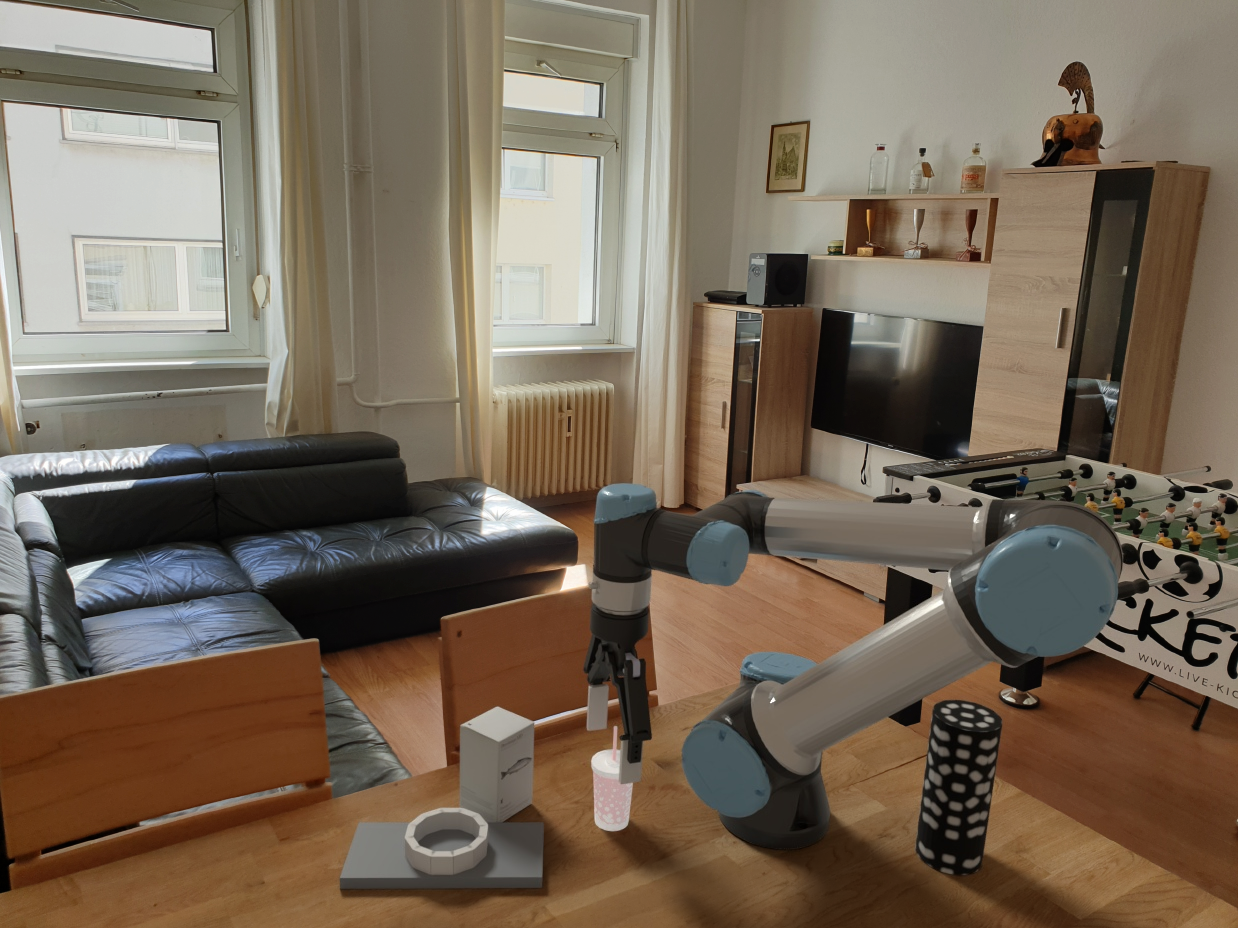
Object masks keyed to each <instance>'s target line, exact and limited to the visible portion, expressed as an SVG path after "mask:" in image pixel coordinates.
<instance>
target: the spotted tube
mask: <svg viewBox="0 0 1238 928" xmlns="http://www.w3.org/2000/svg"><path fill="white" fill-rule="evenodd" d="M1003 723H1004V721H1003V719H1002V717H1001V715H999V714H998V713H997V712H996V711H995V710H993V709H992V708H989V707H987V706H985V705H983V704H980V703H977V702H973V701H970V700H963V699H946V700H941V701H938V702H937V703H935V704H934V705H933V707H932V712H931V719H930V729H929V735H928V743H927V751H926V752H927V753H926V757H925V759H926V760H925V768H924V773H923V774H924V775H923V784H922V793H921V799H920V805H919V806H920V807H919V815H918V823H917V832H916V839H915V847H914V849H915V852H916V854H917V856H918V858H919V859H920V860H921V861H922V862H924V863H925V864H926V865H927V866H929V867H930V868H932V869H934V870H937V871H939V872H941V873H944V874H948V875H955V876H969V875H973V874H975V873H976V872H979V870H981V868H982V867H983V861H984V854H985V847H986V838H987V833H988V826H989V820H990V819H989V818H990V811H991V805H992V798H993V791H994V785H995V777H996V771H997V765H998V764H997V763H998V759H999V757H998V756H999V750H1000V744H1001V743H1000V742H1001V738H1002V729H1003Z"/></svg>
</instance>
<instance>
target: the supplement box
mask: <svg viewBox="0 0 1238 928" xmlns="http://www.w3.org/2000/svg"><path fill="white" fill-rule="evenodd" d="M534 744H535V721H533V720H531V719H529V718H526V717H523V716H521V715H518V714H516V713H514V712H512V711H509V710H506V709H504V708H502V707H500V706H495V707H493V708H491V709H489V710H488V711H485V712H483V713H482V714H480V715H477V716H476V717H473V718H471V719H470V720H468V721H465V722H464V723H462V724H460V725H459V808H464V809H467V810H470V811H473V812H475V813H478V814H480V815H481V817H482V818H483V819H484V820H485V821H486V822H505V821H506V820H508V819H510V818H511V817H512V816H514V815H516V814H517V813H519V812H520V811H522V810H523V809H525V808H527V807H529V806H530V805H532V804H533V789H534V788H533V787H534V785H533V784H534V753H535V752H534V749H535V746H534Z"/></svg>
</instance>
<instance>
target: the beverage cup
mask: <svg viewBox="0 0 1238 928" xmlns="http://www.w3.org/2000/svg"><path fill="white" fill-rule="evenodd" d="M612 740H613V741H612V742H613V743H612V748H611V749H604V750H601V751H598V752H596V753H595V754H593V755H592V758H591V760H590V763H591V764H590V765H591V766H590V767H591V770H592V773H593V774H592V775H593V777H592V778H593V780H592V781H593V806H594V809H593V810H594V823H595V825H596V826H597V827H598V828H599V829H602V830H604V831H609V832H617V831H622V830H623V829H625V828H626V827H627V826H628V825H629V821H630V811H631V803H632V795H633V786H634V783H628V784H620V782H619V768H620V750H621V749H618V748H617V747H618V746H617V743H618V726H617V725H614V726H613V739H612Z"/></svg>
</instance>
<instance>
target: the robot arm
mask: <svg viewBox="0 0 1238 928" xmlns="http://www.w3.org/2000/svg"><path fill="white" fill-rule="evenodd" d="M595 503H596V504H595V511H594V519H593V524H594V525H593V526H594V527H593V528H594V529H593V531H594V532H593V535H594V539H593V565H592V581H589V583H588V589H590V590H591V601H592V604H591V606H590V615H589V617H590V618H589V630H590V633H591V638H590V641H589V645H588V649H587V652H586V655H585V660H584V663H583V666H582V667H583V669H582V670H583V674H587V676H586V681H587V683H588V691H587V693H588V694H587V710H586V712H587V713H586V730H587V731H588V732H591V731H598V730H605V729H607V727H608V709H609V708H608V707H609V684H608V682H611V684H612V686H614V687H615V688H616V691H617V692H616V694H617V699H618V704H619V710H620V715H621V722H622V728H623V732H624V733H623V734H621V735H620V736H618V737H619V740H620V749H619V750H620V768H619V782H620V784H628V783H633V784H634V783H640V782H642V770H643V769H642V767H643V753H644V752H643V751H644V750H643V749H644V742H645V741H651V740H652V738H653V733H652V724H651V716H650V707H649V705H650V704H649V698H648V688H647V679H646V677H647V675H646V674H647V672H646V671H647V670H646V669H647V661H646V660H645V658H643V657H641V658H638V656H639V655H638V652H637V649H636V644H637V643H638V642H639V641H641V640H643V639H644V638H645V637H647V635H648V633H649V621H650V619H649V618H650V608H649V605H650V602H651V596H652V595H651V594H652V578H653V577H652V576H653V574H652V571H658V572H660V573H661V572H662V573H665V574H669V575H672V576H677V577H680V578H684V579H688V580H692V581H695V582H698V583H699V584H704V585H714V586H719V587H720V586H721V587H730V586H733V585H735V584H736V583H737V582H738V581H739V580H740V578H741V575H742V574H743V573H744V572H745V569H746V567H747V564H748V560H749V554H750V555H759V556H760V555H761V556H775V557H776V556H778V557H788V558H798V559H799V558H800V559H812V560H823V561H832V562H833V561H834V562H835V561H836V562H846V563H857V564H858V563H859V564H872V565H881V566H892V567H904V568H905V567H906V568H917V569H929V570H938V571H948V573H947V578H946V583H945V587H944V589H943V590H941V591H939V592H938V593H936V594H934V595H933V596H931V597H930V598H928V599H926V600H924V601H922V602H920V603H919V604H918V605H916V606H914V607H912V608H910V609H908V610H907V611H905V612H903V613H902V614H900V615H898V616H897V617H895V618H893V619H892V620H891V621H888V622H886V623H885V624H884V625H882V626H880V627H879V628H876V629H875V630H873V631H872V632H869V634H866V635H865V636H863V637H861V638H860V639H858V640H856V641H855V642H853V643H851V644H850V645H848V646H846V647H844V648H842V649H841V650H840V651H838V652H836V653H834V654H833V655H831V656H829V657H827V658H826V659H824V660H823V661H821V662H819V663H817V662H815V661H814V660H812V659H809V658H806V657H804V656H799V655H796V654H791V653H787V652H781V651H780V652H778V651H760V652H754V653H749V654H748V655H746V656H745V657H744V658H743V660H742V662H741V666H740V667H741V668H740V669H739V674H740V681H739V685H738V687H737V688H736V689H735V690H734V691H733V692H732V693H731V694H729V695H728V696H727V697H726V698H725V699H724V700H722V702H720V703H719V704H718V705H717V706H716V707H715V708H714V709H713V710H712V711H711V712H710V713H709V714H707V715H706V716H705V717H704V718H703V719H701V720H700V721H698V722H697V723H696V724H694V725H693V726H692V728H691V731H690V732H689V733H688V734H687V736H686V738H685V740H684V742H683V744H682V748H681V766H682V771H683V773H684V776H685V779H686V781H687V783H688V785H689V786H690V789H691V790H692V792H693V793H694V794H695V795H696V796H697V797H698V798H699V800H701V802H703V803H704V804H705V805H706V806H707V807H708V808H710V809H712V810H713V811H717V812H718V813H717V814H718V817H719V819H720V821H721V823H722V824H723V825H724V827H725V828H726V829H727V830H728V831H729V832H731V833H732V834H733V835H734V836H737V838H740V839H741V840H743V841H745V842H747V843H750V844H752V845H755V846H758V847H763V848H767V849H773V850H796V849H802V848H806V847H809V846H811V845H813V844H816V843H817V842H819V841H821V840H822V839H823V838H824V837H825V836H826V834H827V833H828V831H829V825H830V815H831V810H830V809H831V808H830V803H829V800H828V795H827V791H826V787H825V782H824V779H823V774H822V761H823V760H822V759H823V752H825V751H826V750H827V749H830V748H832V747H833V746H836V745H838V744H840V743H841V742H843V741H844V740H847V739H849V738H850V737H853V736H854V735H856V734H858V733H860V732H862V731H864V730H865V729H868V728H869V727H871V726H873V725H875V724H877V723H878V722H881V721H883V720H885V719H886V718H888V717H890V716H892V715H894V714H896V713H898V712H901V711H902V710H904V709H906V708H908V707H910V706H912V705H914V704H915V703H918V702H919V701H921V700H923V699H924V698H925V699H926V698H927V697H928V696H930V695H933V694H934V693H936V692H938V691H940V690H942V689H944V688H946V687H948V686H950V685H951V684H953V683H956V682H957V681H959V680H961V679H963V678H965V677H966V676H968V675H970V674H972V673H974V672H976V671H978V670H980V669H981V668H983V667H986V666H988V665H989V664H991V663H997V664H999V665H1002V666H1004V667H1009V668H1013V669H1014V668H1015V669H1016V668H1018V667H1020V666H1021V665H1023V664H1025V663H1028V662H1029V661H1032V660H1034V659H1035V658H1038V657H1041V658H1042V657H1043V658H1044V657H1046V658H1049V657H1058V656H1062V655H1067V654H1070V653H1073V652H1075V651H1077V650H1079V649H1081V648H1083V647H1085V646H1086V645H1088V644H1089V643H1091V642H1092V641H1093V640H1094V639H1095V638H1096V637H1097V636H1098V635H1099V634H1100V633H1101V631H1102V630H1104V628H1105V626H1106V624H1107V623H1108V622H1109V620H1110V619H1111V618H1112V615H1113V614H1114V611H1115V608H1116V605H1117V601H1118V596H1119V595H1118V594H1119V588H1118V586H1119V583H1120V582H1119V581H1120V578H1121V574H1122V571H1123V565H1124V554H1123V549H1122V548H1123V547H1122V544H1121V541H1120V539H1119V536H1118V535H1117V532H1116V531H1115V529H1114V528H1113V526H1112V525H1111V524H1110V523H1109V522H1108V520H1106V519H1105V518H1104V517H1102V515H1100V514H1099V513H1098V512H1096V511H1094V510H1092V509H1091V508H1088V507H1086V506H1084V505H1083V504H1080V503H1076V502H1070V501H1064V500H1049V499H1046V500H1044V499H1043V500H1042V499H997V498H993V499H992V498H991V499H989V500H988V501H986V502H985V503H984V504H983V505H981V506H979V507H978V506H958V505H957V506H956V505H939V504H938V505H936V504H935V505H934V504H915V503H914V504H913V503H897V502H896V503H895V502H893V503H892V502H876V501H875V502H871V501H857V500H856V501H855V500H854V501H853V500H852V501H851V500H833V499H832V500H830V499H829V500H828V499H812V498H811V499H810V498H808V499H807V498H790V497H788V498H787V497H770V496H768V495H767V494H765V493H764V492H761V491H759V490H755V489H747V490H746V489H745V490H742V491H737V492H734V493H732V494H729V495H727V496H726V497H725V498H723V499H721V500H720V501H718V502H715V503H714V504H712V505H710V506H708V507H706V508H704V509H702V510H699V511H698V512H696V513H694V514H685V513H680V512H673V511H669V510H665V509H664V508H658V502H657V495H656V492H655V490H654V489H652V488H650V487H647V486H646V485H643V484H637V483H626V482H624V483H623V482H622V483H613V484H612V483H611V484H609V485H607V486H603V487H602V488H601V489H600V490H599V491H598V493H597V495H596V502H595ZM606 682H607V683H606Z"/></svg>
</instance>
